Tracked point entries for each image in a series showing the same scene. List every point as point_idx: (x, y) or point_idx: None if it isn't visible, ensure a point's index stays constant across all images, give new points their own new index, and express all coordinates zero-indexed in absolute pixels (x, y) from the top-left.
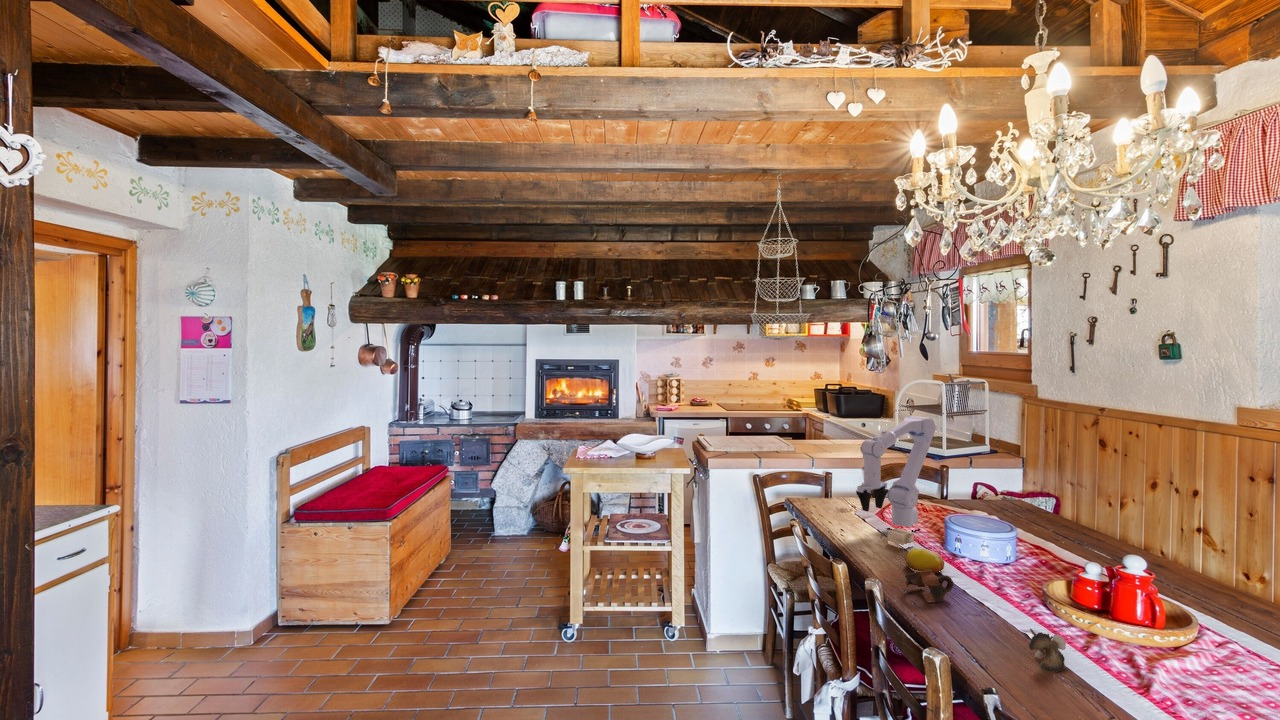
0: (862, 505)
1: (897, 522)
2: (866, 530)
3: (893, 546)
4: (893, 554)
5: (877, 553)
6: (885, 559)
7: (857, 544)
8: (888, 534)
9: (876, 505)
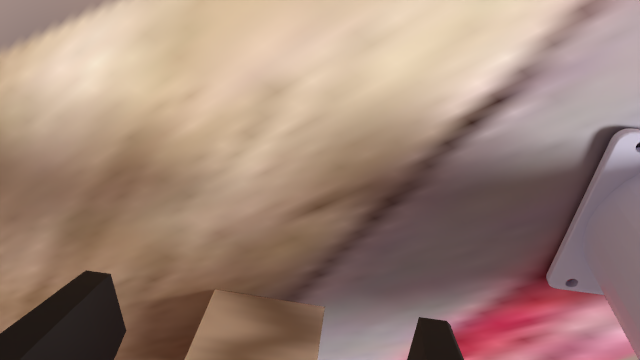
0: (25, 335)
1: (612, 279)
2: (398, 31)
3: None
4: None
5: None
6: None
7: (28, 183)
8: (191, 351)
9: (417, 353)
